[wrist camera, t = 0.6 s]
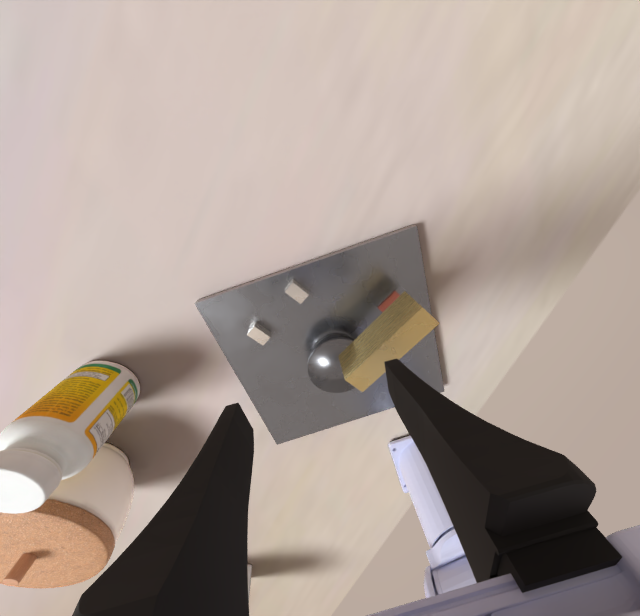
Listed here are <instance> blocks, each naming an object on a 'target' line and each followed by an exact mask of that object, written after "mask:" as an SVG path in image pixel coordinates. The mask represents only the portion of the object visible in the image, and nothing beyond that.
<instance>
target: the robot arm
mask: <svg viewBox="0 0 640 616" xmlns="http://www.w3.org/2000/svg"><path fill="white" fill-rule="evenodd" d="M384 364H385V371H386V377H387V384H388V391H389V394H390V396H391V399H392V401H393V403H394V406H395V408H396V410H397V412H398V414H399V416H400V418H401V420H402V421H403V423H404V425H405V427H406V429H407V430H408V432H409V434H410V436H407V437H404V438H401V439H397V440H394V441H391V442H390V443H389V444H388V446H389V449H390V452H391V455H392V458H393V461H394V464H395V467H396V471H397V474H398V477H399V480H400V483H401V486H402V489H403V492H405V493H408V492H409V494H410V497H411V499H412V502H413V504H414V507H415V509H416V512H417V515H418V517H419V520H420V522H421V525H422V528H423V530H424V533H425V535H426V538H427V541H428V544H429V546H430V549H429V550H427V551H426V554H427V557H428V559H429V562H430V566H428V567H426V569H425V579H424V590H425V595H426V598H425V599H421V600H418V601H415V602H411V603H408V604H404V605H401V606H398V607H395V608H391V609H388V610H384V611H381V612H377V613H374V614H370V615H367V616H640V525H638V526H634V527H631V528H627V529H624V530H620V531H618V532H615V533H612V534H611V535H609V536H607V537H606V538H605V537H604V535H603V534H602V533H601V532H600V531H599V530H598V529H597V528H596V527H597V526H598V522H597V521H596V520H595V518H594V517H593V516H592V515H591V514H590V513H589V512H588V511H587V510H588V508H589V506H590V504H591V502H592V500H593V498H594V496H595V493H596V487H595V484H594V483H593V482H592V481H591V480H590V479H589V478H588V477H587V476H586V475H585V474H584V473H583V472H582V471H581V470H580V469H579V468H578V467H577V466H576V465H575V464H573V463H572V462H571V461H570V460H569V459H567V457H565V456H564V455H562V454H560V453H557V452H555V451H552V450H549V449H547V448H544V447H541V446H539V445H536V444H534V443H531V442H529V441H526V440H524V439H522V438H519V437H517V436H515V435H513V434H510V433H508V432H506V431H504V430H502V429H500V428H498V427H496V426H494V425H492V424H490V423H488V422H486V421H484V420H482V419H481V418H479V417H477V416H475V415H474V414H472V413H470V412H468V411H467V410H465V409H463V408H462V407H460V406H458V405H457V404H455V403H454V402H452V401H451V400H449V399H448V398H446V397H445V396H443V395H442V394H440V393H439V392H438V391H436V390H435V389H433V388H432V387H431V386H430V385H428V384H427V383H426V382H424V381H423V380H422V379H421V378H419V377H418V376H417V375H416V374H414V373H413V372H412V371H411V370H410V369H409V368H407V367H406V366H405V365H404V364H403V363H402V362H401V361H400V360H399V359H397V358H396V359H393V360H389V361H385V362H384ZM253 454H254V436H253V428H252V427H251V425H250V423H249V421H248V419H247V418H246V416H245V414H244V412H243V410H242V409H241V407H240V405H239V403H236V404H232V405H228V406H226V407H225V409H224V410H223V412H222V414H221V416H220V417H219V419H218V421H217V423H216V425H215V427H214V428H213V430H212V432H211V434H210V436H209V437H208V439H207V441H206V442H205V444H204V446H203V448H202V449H201V451H200V453H199V454H198V456H197V458H196V459H195V461H194V462H193V464H192V465H191V467H190V469H189V470H188V472H187V473H186V475H185V476H184V478H183V479H182V481H181V482H180V484H179V485H178V486H177V488H176V489H175V491H174V492H173V493H172V495H171V496H170V497H169V499H168V500H167V501H166V503H165V504H164V505H163V506H162V508H161V509H160V510H159V511H158V513H157V514H156V515H155V516H154V517H153V519H152V520H151V521H150V522H149V524H148V525H147V526H146V527H145V528H144V530H143V531H142V532H141V533H140V534H139V535H138V537H137V538H136V539H135V540H134V541H133V542H132V543H131V544H130V545H129V547H128V548H127V549H126V550H125V551H124V552H123V553H122V554H121V555H120V556H119V557H118V559H117V560H116V561H115V562H114V563H113V564H112V565H111V566H110V567H109V568H108V569H107V570H106V571H105V572H104V573H103V574H102V575H101V576H100V577H99V578H98V579H97V580H96V581H95V582H94V583H93V584H92V585H91V586H90V587H89V588H88V589H87V590H86V591H85V592H84V593H83V594H82V596H81V598H80V600H79V602H78V604H77V606H76V608H75V611H74V613H73V615H72V616H249V605H248V570H247V528H248V504H249V494H250V484H251V475H252V465H253Z"/></svg>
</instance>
